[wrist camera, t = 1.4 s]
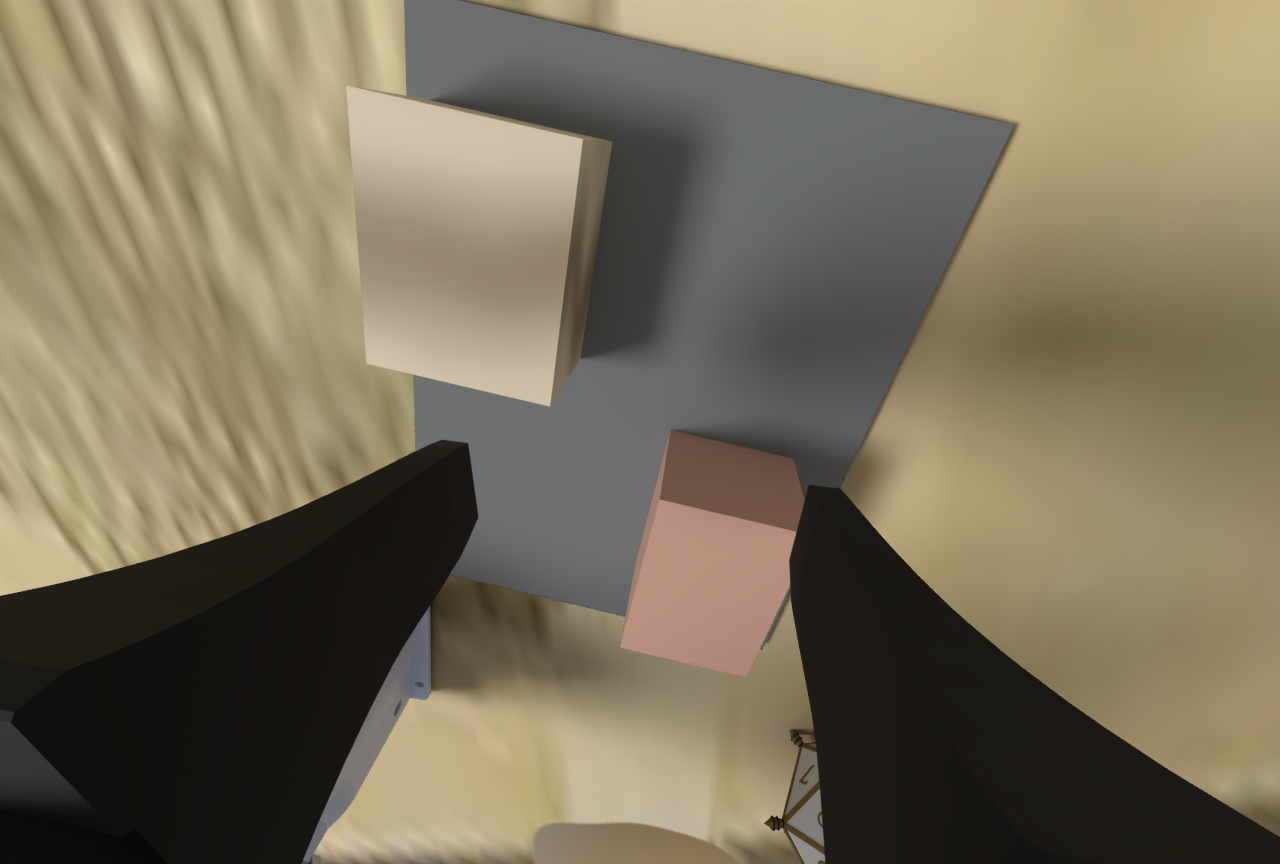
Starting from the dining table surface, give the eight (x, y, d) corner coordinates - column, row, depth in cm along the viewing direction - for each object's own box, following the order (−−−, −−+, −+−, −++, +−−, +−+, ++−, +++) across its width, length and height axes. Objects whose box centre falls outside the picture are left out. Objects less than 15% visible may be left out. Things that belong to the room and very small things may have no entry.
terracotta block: (740, 588, 23) (745, 677, 19) (635, 563, 23) (619, 647, 19) (793, 458, 20) (813, 535, 16) (670, 429, 20) (659, 499, 16)
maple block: (580, 358, 19) (549, 406, 15) (430, 324, 19) (366, 363, 15) (612, 141, 15) (583, 139, 12) (429, 99, 15) (346, 85, 12)
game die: (865, 679, 31) (1038, 860, 24) (772, 778, 32) (913, 981, 25) (812, 667, 25) (1024, 906, 18) (698, 790, 25) (857, 1065, 18)
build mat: (761, 642, 25) (762, 649, 25) (422, 561, 25) (418, 567, 25) (1006, 125, 14) (1013, 124, 14) (411, -9, 15) (403, -12, 14)
